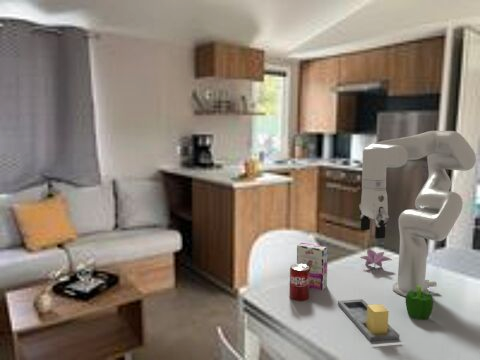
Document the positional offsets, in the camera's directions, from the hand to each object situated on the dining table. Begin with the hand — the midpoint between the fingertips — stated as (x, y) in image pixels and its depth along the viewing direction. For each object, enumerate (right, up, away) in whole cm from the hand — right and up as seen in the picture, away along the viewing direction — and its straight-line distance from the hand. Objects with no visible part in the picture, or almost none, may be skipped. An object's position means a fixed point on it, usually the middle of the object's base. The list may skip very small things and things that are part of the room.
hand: (372, 233), depth 132 cm
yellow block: (-3, -28, -13) cm, 31 cm away
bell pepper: (+14, -27, -3) cm, 31 cm away
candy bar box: (-17, -24, +22) cm, 36 cm away
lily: (+15, -21, +40) cm, 48 cm away
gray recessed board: (-4, -28, -6) cm, 29 cm away
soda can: (-23, -25, +11) cm, 36 cm away
